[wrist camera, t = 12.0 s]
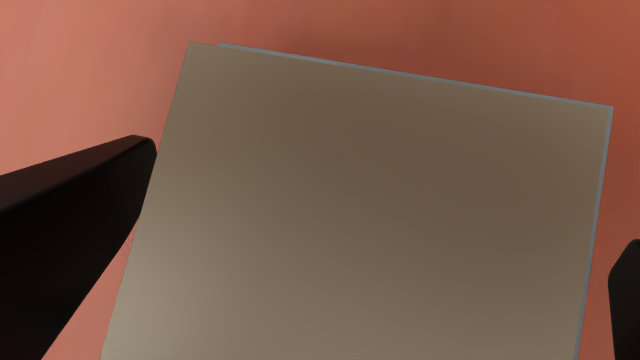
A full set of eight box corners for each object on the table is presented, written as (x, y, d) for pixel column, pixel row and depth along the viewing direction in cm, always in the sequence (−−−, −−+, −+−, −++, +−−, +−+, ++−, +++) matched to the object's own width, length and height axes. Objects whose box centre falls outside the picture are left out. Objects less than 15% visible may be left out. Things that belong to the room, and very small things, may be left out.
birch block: (424, 355, 15) (537, 608, 4) (281, 318, 16) (72, 451, 5) (451, 209, 16) (609, 109, 5) (313, 181, 16) (188, 41, 6)
